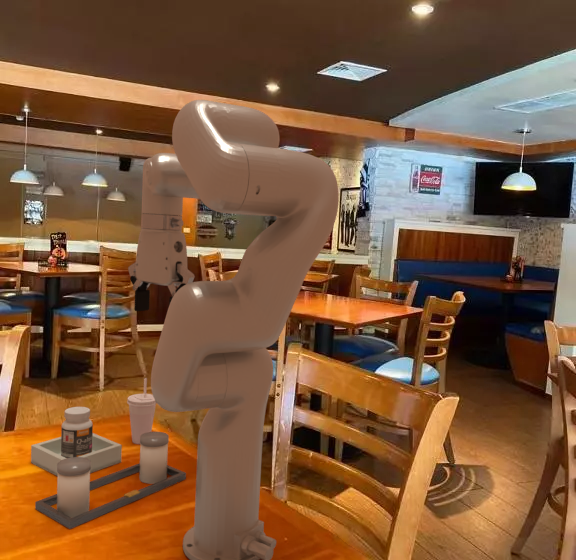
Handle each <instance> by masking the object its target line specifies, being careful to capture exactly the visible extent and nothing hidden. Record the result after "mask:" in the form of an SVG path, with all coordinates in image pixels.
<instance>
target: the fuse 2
mask: <svg viewBox="0 0 576 560" xmlns="http://www.w3.org/2000/svg"><path fill="white" fill-rule="evenodd" d="M169 438H170V437H169V433H166V432H164V431H162V432H161V431H151V432H147V433H144V434H142V435H141V436H140V444H139V445H140V450H139V451H140V452H139V463H140V471H139V474H138V475H139V476H138V477H139V481H140V482H142V483H143V484H144V483H145V484H148V485H149V484H150V485H152V484H155V483H157V482H159V481H162V480H164V479H167V478H168V477H167V476H168V474H167V465H168V453H169V451H168V447H169V446H168V445H169Z"/></svg>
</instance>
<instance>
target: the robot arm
mask: <svg viewBox="0 0 576 560" xmlns="http://www.w3.org/2000/svg"><path fill="white" fill-rule="evenodd" d="M171 133H172V134H171V139H172V147H173V151H174V153H170V152H159V153H155V154H154V155H153V156H152V157H149V158H147V159H145V160H144V162H143V165H142V193H141V218H140V219H141V222H140V223H141V224H140V226H141V227H140V231H139V235H138V240H137V248H136V258H135V262H134V263H132V264H131V265H129V266H128V267H127V269H128V273H129V277H130V280H129V281H130V282H131V284H132V290H133V291H134V306H133V307H134V311H135V312H143V311H144V312H145V311H149V309H150V299H151V298H150V296H151V294H150V293H151V292H150V291H151V290H150V289H148V288H149V287H150V285H151V284H152V285H159V286H166V287H167V288H168V290H169V292H170V294H171V296H169V300H168V301H169V303H168V308H167V312H166V315H165V319H164V323H163V325H162V329H161V333H160V336H159V340H158V343H157V347H156V351H155V354H154V358H153V362H152V368H151V373H150V374H151V376H150V387H151V388H150V389H151V393H152V395H153V397H154V399H155V401H156V402H157V403H156V405H158V406H159V407H160V408H161V409H164V410H165V411H168V412H173V413H180V412H181V413H182V412H183V413H184V412H190V411H192V412H193V411H199V410H207V409H208V411H207V412H206V414H205V416H204V418H203V420H202V422H201V425H200V428H199V431H198V435H197V450H196V451H197V453H196V454H197V455H196V456H197V457H196V476H195V477H196V479H195V500H194V502H195V505H194V525H193V526H192V527H191V528H189V529H188V530H187V531H186V533H185V534H184V536H183V539H182V549H183V553H184V555H185V556H186V557H187V558H188V559H189V560H272V558H273V555H274V549H275V547H276V546H277V540H276V538H273V537H271V536H267V535H266V533H265V532H264V528H265V526H264V525H265V522H264V521H263V520H260V519H259V513H260V511H259V510H260V491H261V475H262V456H263V455H262V454H263V442H264V441H263V438H264V426H265V425H264V423H265V415H266V410H267V405H268V399H269V396H270V392H271V389H272V388H271V387H272V383H273V379H274V377H273V376H274V364H273V358H272V355H271V354H270V352H269V350H268V348H269V347H271V346H273V345H274V344H275V343H276V342H277V341H278V339H279V338H280V336H281V334H282V333H283V330H284V328H285V326H286V323H287V322H288V321H287V320H288V319H289V316H290V314H291V311H292V309H293V307H294V305H295V303H296V300H297V298H298V296H299V293H300V291H301V288H302V286H303V283H304V280H305V279H306V276H307V274H308V272H309V271H310V269H311V267H312V265H313V263H315V260H316V259H317V258H318V256H319V254H320V253H321V251H322V250H323V248H324V246H325V245H326V243H327V241H328V240H329V237H330V235H331V233H332V230H333V229H334V226H335V223H336V219H337V215H338V211H339V210H338V209H339V194H340V193H339V186H338V180H337V178H336V175H335V172H334V171H333V169H332V168H331V166H330V165H329V164H327V163H326V162H325V160H322V158H319V157H318V156H314V155H312V154H309V153H307V152H302V151H297V150H292V149H286V148H279V145H280V132H279V128H278V126H277V124H276V122H274V120H273V119H272V118H271V117H270V116H269V115H268V114H266V113H265V112H263V111H262V110H259V109H257V108H253V107H250V106H249V107H248V106H243V105H237V104H230V103H225V102H218V101H213V100H207V99H195V100H191V101H189V102H188V103H186V104H185V105H183V106H182V107H181V108H180V110H179V111H178V113H177V115H176V116H175V119H174V121H173V126H172V132H171ZM186 198H187V199H195V200H196V199H198V200H201V202H202V203H203V204H204V206H206V207H207V208H208V209H210V210H212V211H215V212H218V213H220V214H221V213H222V214H229V215H230V214H231V215H246V216H247V215H250V216H264V217H265V216H266V217H267V216H268V217H276V219H275V221H274V222H273V223H272V224H271V225H269V226H267V227H266V228H265V229H264V230H263V231H261V232H260V233H259V234H258V235H257V236H256V237H255V238H254V239H253V241H252V242H251V243H250V244H249V245H248V247H246V249H245V250H244V253H243V256H242V257H241V262H240V265H239V266H238V270H237V272H236V274H235V276H233V277H232V278H230V279H226V280H200V281H194V279H195V277H196V276H195V274H194V273H193V272H192V271H191V270H189V269H188V251H187V250H188V249H187V242H186V237H185V232H182V231H183V230H182V229H183V226H184V221H183V205H184V199H186Z"/></svg>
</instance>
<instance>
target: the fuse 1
mask: <svg viewBox="0 0 576 560" xmlns="http://www.w3.org/2000/svg"><path fill="white" fill-rule="evenodd" d="M90 469H91V461H90V460H89V459H87V458H83V457H71V458H66V459H63V460H61V461H59V462H58V463H57V472H58V476H57V480H56V481H57V482H56V483H57V486H56V487H57V488H56V492H57V493H56V494H57V503H56V510H58V511H60V512H62V513H63V514H65V515H67V516H69V517H70V518H73V517H75V516H78V515H80V514H83V513H85V512H87V511H90V491H91V490H90V481H91V473H90Z"/></svg>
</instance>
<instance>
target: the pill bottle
mask: <svg viewBox="0 0 576 560" xmlns="http://www.w3.org/2000/svg"><path fill="white" fill-rule="evenodd" d="M90 416H91V409H90V408H89V407H86V406H72V407H68V408H67V409H65V410H64V419H65V420H64V421H63V422H62V424H61V430H60V431H61V432H60V435H61V436H60V437H61V456H63V457H65V458H71V457H79V456H82V455H85V454H88V453H91V452H92V436H93V434H92V433H93V432H94V431H93V430H94V429H93V427H94V425H93V421H92V420H91V419H90Z"/></svg>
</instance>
